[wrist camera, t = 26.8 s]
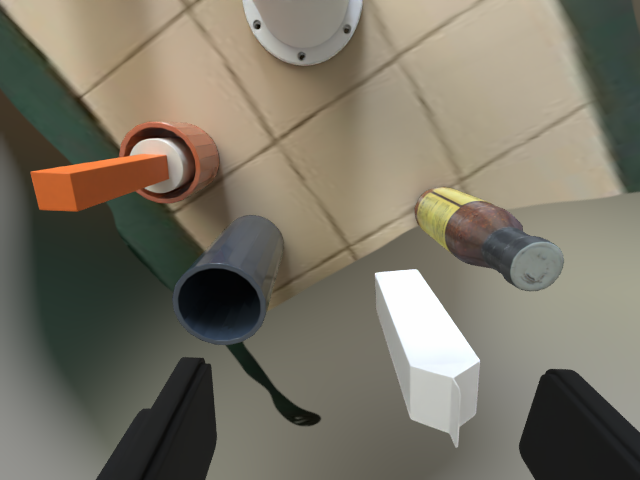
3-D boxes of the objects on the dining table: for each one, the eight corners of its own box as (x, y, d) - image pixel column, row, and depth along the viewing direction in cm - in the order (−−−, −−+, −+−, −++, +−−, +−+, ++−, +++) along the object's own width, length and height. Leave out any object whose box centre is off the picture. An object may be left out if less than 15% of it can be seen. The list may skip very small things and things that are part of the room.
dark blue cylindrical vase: (221, 213, 43) (167, 261, 28) (284, 216, 43) (265, 265, 28) (224, 271, 45) (177, 343, 30) (283, 273, 46) (266, 346, 30)
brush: (157, 135, 39) (-3, 144, 19) (203, 137, 39) (90, 148, 20) (163, 181, 41) (21, 231, 21) (207, 183, 41) (105, 235, 21)
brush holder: (148, 121, 39) (113, 120, 32) (217, 124, 39) (196, 123, 33) (156, 189, 42) (125, 201, 35) (221, 192, 42) (203, 204, 35)
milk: (417, 268, 46) (502, 387, 25) (417, 306, 47) (496, 447, 27) (373, 272, 46) (421, 394, 25) (374, 310, 48) (420, 453, 27)
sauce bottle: (424, 239, 44) (503, 324, 25) (404, 200, 42) (473, 258, 24) (470, 215, 43) (588, 285, 24) (451, 174, 41) (563, 213, 22)
